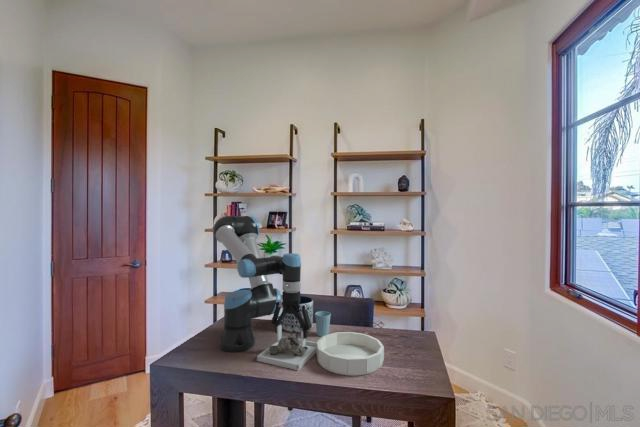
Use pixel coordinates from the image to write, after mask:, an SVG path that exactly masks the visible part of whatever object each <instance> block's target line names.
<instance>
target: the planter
mask: <svg viewBox="0 0 640 427" xmlns="http://www.w3.org/2000/svg"><path fill="white" fill-rule="evenodd" d="M300 304H301V305H305V304H306V305H307V311H308V315H309V318H310V322H311V325H312V328H313V327H314V324H313V323H314V300H313V298H312V297H310V296H306V295H305V296H303V295H300ZM283 309H284V308H283V306H281V311H283ZM299 310H300V312H301V315H302V317H303V314H302V310H301V308H299ZM303 319H304V317H303ZM281 323H282V324H281V325H282V330H285V331H287V332H290V333H292V331H293V330H295V331H296V332H297V333H301V331H302V330H303V329H302V327H301V325H300V323H299V322H298V320H297V318H296V316H295V315H294V314H291V313H286V315H285V317H284V318H283V320H282V322H281ZM309 330H311V329H309ZM309 330H307V332H308V331H309Z"/></svg>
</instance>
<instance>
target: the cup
mask: <svg viewBox="0 0 640 427" xmlns="http://www.w3.org/2000/svg"><path fill="white" fill-rule="evenodd" d="M331 315H332V313H331V312H329V311H324V310H321V311H316V312H315V313H314V316H315V327H316V328H315V329H316V335H317V336H318V337H319V336H320V338H322V337H323V336H325V335H328V334H330V333H329V332H330V324H331Z"/></svg>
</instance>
